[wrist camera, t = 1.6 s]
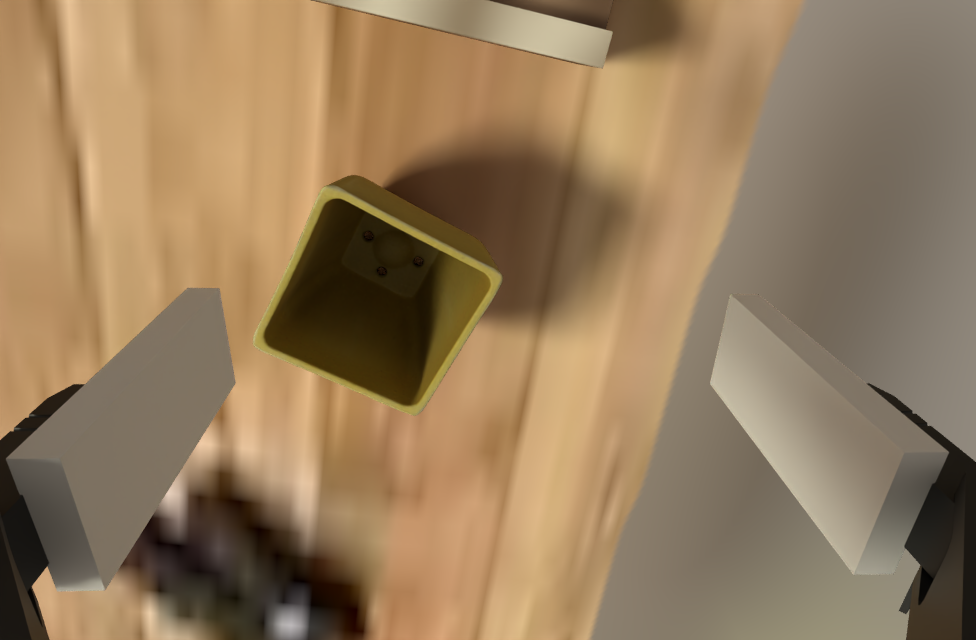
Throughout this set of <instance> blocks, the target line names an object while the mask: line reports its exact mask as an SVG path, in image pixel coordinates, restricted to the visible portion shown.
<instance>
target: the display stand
mask: <svg viewBox="0 0 976 640" xmlns="http://www.w3.org/2000/svg"><path fill="white" fill-rule="evenodd" d="M312 1H316V2H320V3H325V4H329V5H333V6H337V7H341V8H346V9H350V10H354V11H358V12H362V13H366V14H371V15H375V16H379V17H383V18H387V19H392V20H396V21H400V22H404V23H408V24H412V25H417V26H421V27H425V28H429V29H433V30H437V31H442V32H446V33H450V34H454V35H458V36H463V37H467V38H471V39H475V40H479V41H483V42H488V43H492V44H496V45H500V46H504V47H509V48H513V49H517V50H521V51H525V52H529V53H534V54H538V55H542V56H546V57H550V58H554V59H559V60H563V61H567V62H571V63H575V64H580V65H586V66H591V67H597V68H603V66H604V63H605V59H606V55H607V52H608V48H609V44H610V41H611V37H612V33H613V31H609V30H606V26H607V23H608V19H609V15H610V11H611V8H612V4H613V0H312Z"/></svg>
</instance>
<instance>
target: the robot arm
mask: <svg viewBox="0 0 976 640" xmlns="http://www.w3.org/2000/svg"><path fill="white" fill-rule="evenodd" d="M235 383H236V382H235V377H234V371H233V365H232V359H231V353H230V347H229V342H228V336H227V330H226V324H225V318H224V312H223V307H222V301H221V295H220V289H219V288H187V289H186V290H185V291H184V292H183V293H182V294H181V295H180V296H178V297H177V298H176V299H175V300H174V301H173V302H172V303H171V304H170V305H169V306H168V307H167V308H166V309H165V310H164V311H162V312H161V313H160V314H159V315H158V316H157V317H156V318H155V319H154V320H153V321H152V322H151V323H150V324H149V325H148V326H147V327H145V328H144V329H143V330H142V331H141V332H140V333H139V334H138V335H137V336H136V337H135V338H134V339H133V340H132V341H131V342H129V343H128V344H127V345H126V346H125V347H124V348H123V349H122V350H121V351H120V352H119V353H118V354H117V355H116V356H115V357H113V358H112V359H111V360H110V361H109V362H108V363H107V364H106V365H105V366H104V367H103V368H102V369H101V370H100V371H99V372H98V373H96V374H95V375H94V376H93V377H92V378H91V379H90V380H89V381H88V382H87V383H86V384H74V385H72V386H70V387H68V388H66V389H64V390H62V391H60V392H59V393H57V394H55V395H53V396H51V397H49V398H47V399H46V400H45V401H44V402H43V403H42V404H40V405H39V406H38V407H37V408H36V409H35V410H34V411H33V412H31V413H30V414H29V418H25V419H24V420H22V421H21V422H20V423H19V424H18V425H17V426H16V427H15V428H14V431H10V432H9V433H8V434H7V435H6V436H4V437H3V438H2V439H1V440H0V640H49V637H48V634H47V630H46V627H45V624H44V620H43V617H42V614H41V611H40V607H39V604H38V601H37V598H36V596H35V593H34V591H33V589H32V585H33V584H34V582H35V581H36V580H37V579H38V577H39V576H40V575H41V573H42V572H43V571H44V569H45V568H46V567H47V566H48V569H49V571H50V574H51V576H52V579H53V581H54V584H55V587H56V589H57V591H99V590H106V588H107V586H108V585H109V583H110V582H111V580H112V579H113V577H114V575H115V574H116V572H117V571H118V569H119V567H120V566H121V564H122V563H123V561H124V559H125V558H126V556H127V555H128V553H129V552H130V550H131V548H132V547H133V545H134V544H135V542H136V540H137V539H138V537H139V536H140V534H141V533H142V531H143V529H144V528H145V526H146V525H147V523H148V521H149V520H150V518H151V517H152V515H153V513H154V512H155V510H156V509H157V507H158V506H159V504H160V502H161V501H162V499H163V498H164V496H165V494H166V493H167V491H168V490H169V488H170V486H171V485H172V483H173V482H174V480H175V479H176V477H177V475H178V474H179V472H180V471H181V469H182V467H183V466H184V464H185V463H186V461H187V459H188V458H189V456H190V455H191V453H192V452H193V450H194V448H195V447H196V445H197V444H198V442H199V440H200V439H201V437H202V436H203V434H204V432H205V431H206V429H207V428H208V426H209V425H210V423H211V421H212V420H213V418H214V417H215V415H216V413H217V412H218V410H219V409H220V407H221V406H222V404H223V402H224V401H225V399H226V398H227V396H228V394H229V393H230V391H231V390H232V388H233V386H234V385H235ZM710 384H711V385H712V386H713V388H714V389H715V391H716V392H717V393H718V395H719V396H720V397H721V399H722V400H723V401H724V403H725V404H726V405H727V407H728V408H729V409H730V411H731V412H732V413H733V415H734V416H735V417H736V419H737V420H738V421H739V423H740V424H741V425H742V427H743V428H744V429H745V431H746V432H747V433H748V435H749V436H750V437H751V439H752V440H753V441H754V443H755V444H756V445H757V447H758V448H759V449H760V451H761V452H762V453H763V455H764V456H765V457H766V458H767V460H768V461H769V463H770V464H771V465H772V467H773V468H774V469H775V471H776V472H777V473H778V475H779V476H780V477H781V479H782V480H783V481H784V482H785V484H786V485H787V487H788V488H789V489H790V491H791V492H792V493H793V495H794V496H795V497H796V499H797V500H798V501H799V502H800V504H801V505H802V506H803V508H804V509H805V511H806V512H807V513H808V515H809V516H810V517H811V518H812V520H813V521H814V523H815V524H816V525H817V527H818V528H819V529H820V531H821V532H822V533H823V535H825V537H826V539H827V540H828V541H829V543H830V544H831V545H832V547H833V548H834V549H835V551H836V552H837V553H838V555H839V556H840V557H841V559H842V560H843V561H844V563H845V564H846V565H847V567H848V568H849V569H850V570H851V572H852V573H853V574H854V575H866V574H894V572H895V570H896V568H897V566H898V563H899V561H900V559H901V557H902V555H903V553H904V550H905V548H906V549H907V550H908V551H909V552H910V554H911V555H912V556H913V557H914V558H915V559H916V560H917V561H918V563H919V564H920V565H921V566H920V568H919V570H918V572H917V574H916V576H915V578H914V580H913V582H912V584H911V587H910V589H909V591H908V593H907V595H906V597H905V599H904V601H903V603H902V605H901V607H900V610H899V611H901V612H903V613H905V614H906V613H907V612H908V610H909V609H910V612H909V620H908V629H907V637H906V640H976V462H975V461H974V460H973V459H971V458H970V457H969V456H968V455H966V454H965V453H964V452H963V451H962V450H960V449H959V448H958V447H956V446H955V445H954V444H953V443H952V442H950V441H949V440H948V439H946V438H945V437H944V436H943V435H942V434H940V433H939V432H938V431H937V430H935V429H934V428H933V427H931V426H927V422H925V421H924V420H923V419H921V417H919V416H918V415H917V414H913V413H912V410H911V409H909V408H908V407H907V406H906V405H904V404H903V403H902V402H901V401H899V400H898V399H897V398H896V397H894V396H893V395H891V394H889V393H887V392H885V391H883V390H881V389H879V388H877V387H875V386H873V385H871V384H866V383H865V382H864V381H863V380H861V379H860V378H859V377H857V375H855V374H854V373H853V372H852V371H850V370H849V369H848V368H847V367H846V366H844V365H843V364H842V363H841V362H840V361H838V360H837V359H836V358H835V357H833V356H832V355H831V354H830V353H829V352H827V351H826V350H825V349H824V348H823V347H822V346H820V345H819V344H818V343H817V342H816V341H814V340H813V339H812V338H811V337H810V336H808V335H807V334H806V333H805V332H803V331H802V330H801V329H800V328H799V327H797V326H796V325H795V324H794V323H793V322H791V321H790V320H789V319H788V318H787V317H785V316H784V315H783V314H782V313H781V312H779V311H778V310H777V309H776V308H775V307H773V306H772V305H771V304H770V303H769V302H767V301H766V300H765V299H764V298H763V297H761V296H760V295H759V294H730V298H729V303H728V308H727V312H726V316H725V321H724V325H723V329H722V334H721V338H720V342H719V347H718V351H717V356H716V360H715V365H714V369H713V373H712V378H711V382H710Z"/></svg>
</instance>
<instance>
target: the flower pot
mask: <svg viewBox="0 0 976 640" xmlns="http://www.w3.org/2000/svg"><path fill="white" fill-rule="evenodd" d="M367 231H369V232H371V233H372V234H373V236H374V237H373V239H372V240H370V241H369V240H366V239H365V237H364V233H365V232H367ZM416 257H420V258H422V259H423V264H422V265H420V266H417V265H415V264H414V259H415V258H416ZM379 267H384V268H385V269H386V271H387V272H386V274H385V275H379V274H378V273H377V269H378V268H379ZM502 280H503V276H502V274H501V273H500V271H499V269H498V268H497V266H496V264H495V263H494V261H493V259H492V258H491V256H490V254H489V252H488V251H487V249H486V248H485V246H484V245H483V244H482V243H481V242H480V241H479V240H478V239H476V238H475V237H473V236H472V235H470V234H468V233H466V232H464V231H462V230H460V229H458V228H456V227H454V226H453V225H451V224H449V223H447V222H445V221H443V220H441V219H439V218H437V217H435V216H433V215H431V214H430V213H428V212H426V211H424V210H422V209H420V208H418V207H417V206H415V205H413V204H411V203H409V202H407V201H406V200H404V199H402V198H400V197H398V196H396V195H395V194H393V193H391V192H389V191H387V190H386V189H384V188H382V187H380V186H378V185H377V184H375V183H373V182H371V181H370V180H368V179H366V178H364V177H361V176H357V175H351V176H347V177H345V178H342V179H340V180H338V181H336V182H334V183H332V184H329V185H327V186H325V187H323V188H322V190H321V191H320V192H319V195H318V197H317V199H316V201H315V204H314V206H313V208H312V211H311V213H310V215H309V218H308V220H307V223H306V225H305V228H304V230H303V232H302V235H301V237H300V239H299V241H298V244H297V246H296V248H295V251H294V253H293V255H292V257H291V260H290V262H289V264H288V266H287V268H286V270H285V273H284V275H283V277H282V279H281V281H280V283H279V285H278V287H277V289H276V291H275V293H274V295H273V297H272V299H271V301H270V304H269V306H268V308H267V310H266V312H265V314H264V316H263V318H262V320H261V322H260V324H259V325H258V327H257V329H256V332H255V334H254V337H253V345H254V347H256V348H257V349H259V350H260V351H262V352H264V353H267V354H269V355H271V356H274V357H276V358H279V359H281V360H283V361H286V362H288V363H290V364H293V365H295V366H297V367H300V368H302V369H305V370H307V371H310V372H312V373H315V374H317V375H319V376H321V377H324V378H326V379H328V380H330V381H333V382H335V383H337V384H340V385H342V386H344V387H347V388H349V389H351V390H353V391H356V392H358V393H360V394H363V395H365V396H367V397H370V398H372V399H374V400H376V401H378V402H380V403H383V404H385V405H388V406H390V407H392V408H394V409H397V410H399V411H402V412H405V413H407V414H410V415H413V416H416V415H418V414H419V413H420V412H422V411H423V409H424V408H425V407H426V405H427V403H428V402H429V400H430V398H431V397H432V396H433V394H434V392H435V391H436V389H437V387H438V386H439V384H440V383H441V381H442V379H443V378H444V376H445V374H446V373H447V371H448V369H449V368H450V366H451V365H452V363H453V361H454V360H455V358H456V357H457V355H458V354H459V352H460V350H461V349H462V347H463V345H464V344H465V342H466V341H467V339H468V337H469V336H470V334H471V333H472V331H473V330H474V328H475V326H476V325H477V323H478V322H479V320H480V318H481V317H482V315H483V314H484V312H485V311H486V309H487V308H488V306H489V305H490V303H491V302H492V300H493V298H494V297H495V295H496V293H497V291H498V290H499V288H500V286H501V284H502Z"/></svg>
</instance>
